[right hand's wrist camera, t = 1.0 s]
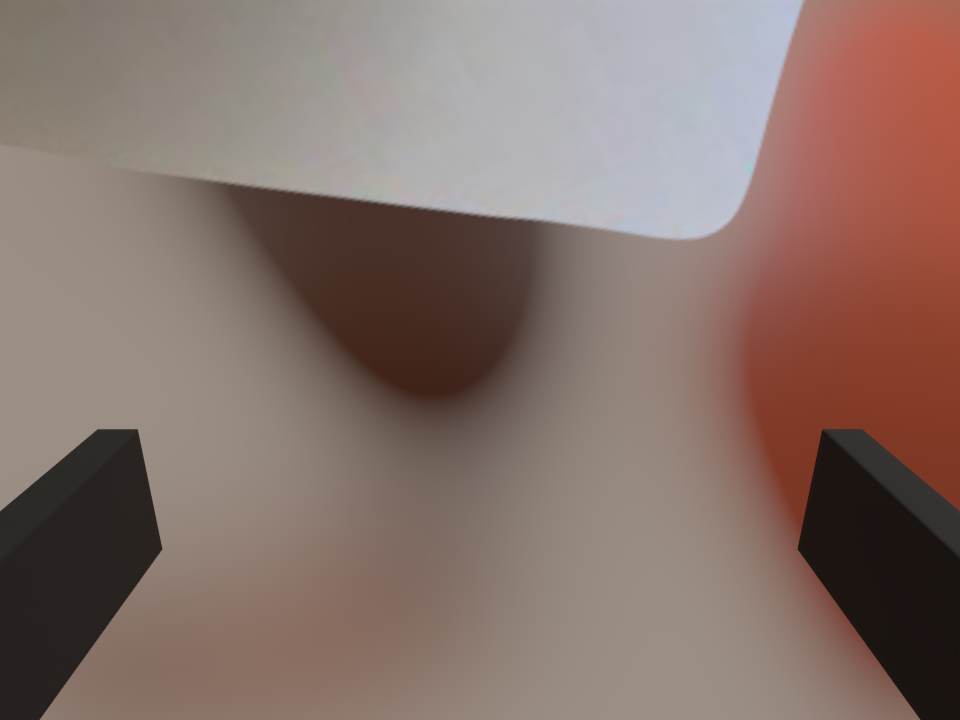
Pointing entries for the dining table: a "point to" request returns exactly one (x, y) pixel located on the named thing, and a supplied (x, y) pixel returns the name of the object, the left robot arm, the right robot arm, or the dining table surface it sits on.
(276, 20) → the dining table surface
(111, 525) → the right robot arm
